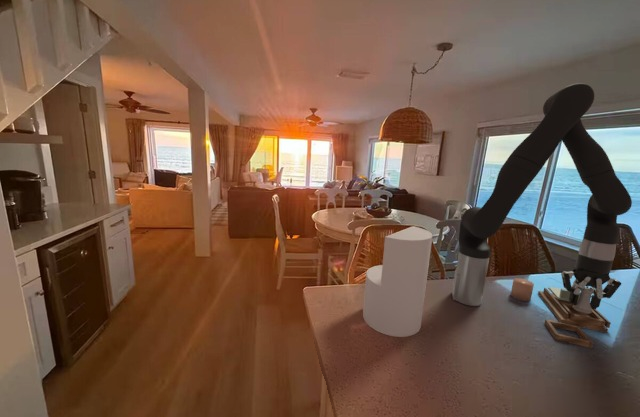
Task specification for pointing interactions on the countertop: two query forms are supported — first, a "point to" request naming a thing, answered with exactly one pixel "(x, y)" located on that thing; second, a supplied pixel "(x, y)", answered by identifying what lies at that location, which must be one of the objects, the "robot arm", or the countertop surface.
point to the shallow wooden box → (574, 313)
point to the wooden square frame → (583, 341)
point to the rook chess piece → (584, 301)
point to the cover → (561, 293)
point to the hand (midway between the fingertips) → (582, 305)
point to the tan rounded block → (522, 289)
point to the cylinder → (398, 284)
